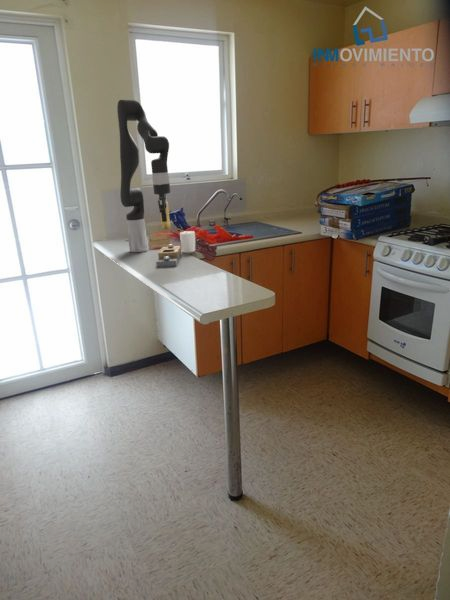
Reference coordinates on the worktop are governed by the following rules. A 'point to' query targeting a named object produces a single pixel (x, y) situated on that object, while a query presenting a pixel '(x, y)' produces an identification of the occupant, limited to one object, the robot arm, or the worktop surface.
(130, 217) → the robot arm
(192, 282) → the worktop surface
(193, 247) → the white cup
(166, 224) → the brass pin
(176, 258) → the tan and grey block
